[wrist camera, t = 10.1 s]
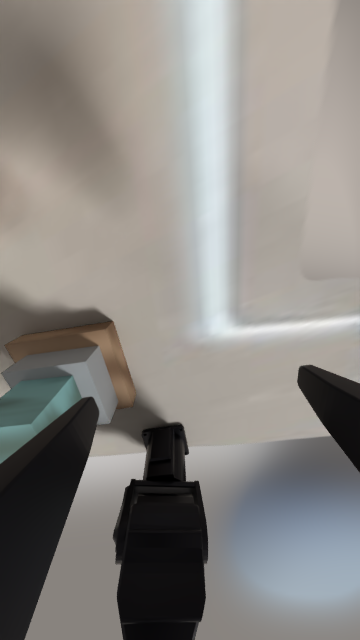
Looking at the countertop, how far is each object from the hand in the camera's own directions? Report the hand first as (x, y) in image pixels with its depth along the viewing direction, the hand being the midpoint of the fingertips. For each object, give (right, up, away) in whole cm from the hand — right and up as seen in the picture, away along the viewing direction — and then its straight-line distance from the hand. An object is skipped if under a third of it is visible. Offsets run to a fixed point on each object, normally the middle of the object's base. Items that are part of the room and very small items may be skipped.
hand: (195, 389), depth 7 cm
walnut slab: (-13, -3, +15) cm, 20 cm away
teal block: (-13, -5, +10) cm, 17 cm away
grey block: (-13, -4, +13) cm, 18 cm away
